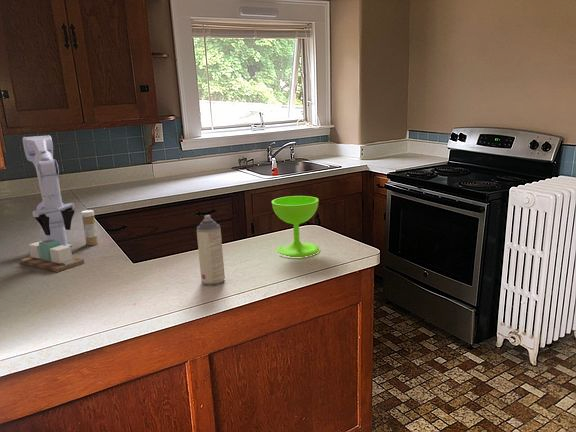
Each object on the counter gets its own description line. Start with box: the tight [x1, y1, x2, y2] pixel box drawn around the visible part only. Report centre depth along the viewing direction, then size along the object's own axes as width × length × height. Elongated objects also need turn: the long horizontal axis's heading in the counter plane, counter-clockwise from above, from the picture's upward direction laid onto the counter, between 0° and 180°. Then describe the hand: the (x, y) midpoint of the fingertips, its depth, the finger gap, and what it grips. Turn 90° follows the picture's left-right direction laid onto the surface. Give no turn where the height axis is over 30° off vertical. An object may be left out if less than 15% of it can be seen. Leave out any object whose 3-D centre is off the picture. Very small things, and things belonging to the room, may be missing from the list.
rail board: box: [19, 256, 85, 273], centre depth 162 cm, size 22×10×1 cm, turn 58°
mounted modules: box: [28, 240, 73, 263], centre depth 161 cm, size 18×4×4 cm, turn 58°
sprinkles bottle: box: [80, 209, 99, 246], centre depth 181 cm, size 5×5×14 cm
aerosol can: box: [196, 214, 226, 287], centre depth 135 cm, size 7×7×20 cm
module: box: [38, 239, 60, 261], centre depth 161 cm, size 5×4×6 cm
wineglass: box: [271, 195, 320, 257], centre depth 160 cm, size 16×16×18 cm
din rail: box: [29, 254, 74, 265], centre depth 162 cm, size 21×4×1 cm, turn 58°
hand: (58, 232), depth 166 cm, fingers open, 7 cm apart
